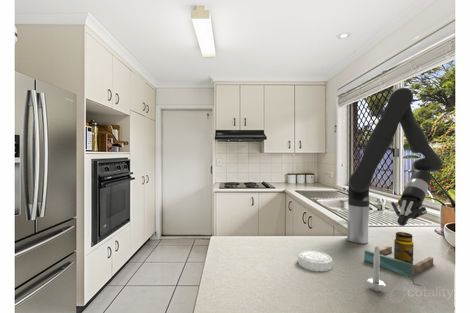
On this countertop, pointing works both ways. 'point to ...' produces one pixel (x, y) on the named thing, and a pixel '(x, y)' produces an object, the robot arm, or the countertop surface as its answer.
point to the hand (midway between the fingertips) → (400, 224)
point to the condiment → (403, 247)
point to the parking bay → (397, 262)
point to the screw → (376, 273)
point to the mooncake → (315, 261)
